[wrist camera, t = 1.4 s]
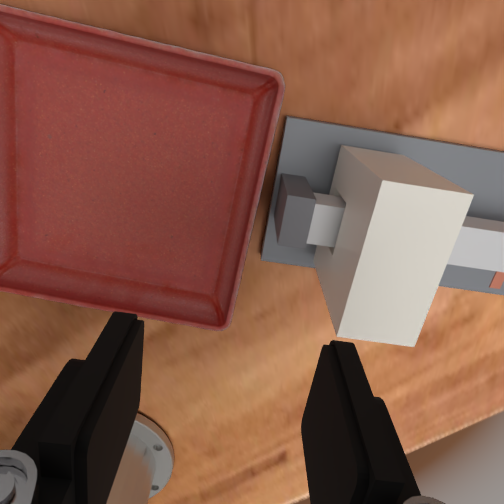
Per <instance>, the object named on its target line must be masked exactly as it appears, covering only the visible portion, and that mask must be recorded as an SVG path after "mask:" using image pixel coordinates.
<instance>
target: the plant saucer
mask: <svg viewBox="0 0 504 504" xmlns="http://www.w3.org/2000/svg"><path fill="white" fill-rule="evenodd" d="M284 91H285V83H284V78H283V76H282V74H281V73H280V72H278V71H276V70H273V69H270V68H266V67H261V66H256V65H252V64H248V63H244V62H240V61H236V60H232V59H227V58H223V57H219V56H215V55H210V54H206V53H202V52H197V51H193V50H189V49H185V48H182V47H178V46H173V45H169V44H163V43H159V42H156V41H151V40H147V39H144V38H139V37H135V36H130V35H126V34H122V33H118V32H115V31H111V30H107V29H102V28H98V27H94V26H89V25H84V24H81V23H77V22H72V21H67V20H64V19H60V18H56V17H53V16H47V15H43V14H39V13H35V12H31V11H27V10H23V9H19V8H14V7H11V6H7V5H4V4H0V291H3V292H8V293H13V294H19V295H23V296H28V297H35V298H40V299H45V300H50V301H56V302H61V303H66V304H72V305H77V306H81V307H87V308H94V309H99V310H104V311H110V312H115V311H118V312H125V313H133V314H137V317H143V318H147V319H154V320H159V321H164V322H170V323H174V324H181V325H186V326H192V327H197V328H202V329H208V330H214V331H223V330H225V329H226V328H228V327H229V326H230V324H231V320H232V316H233V312H234V307H235V302H236V298H237V294H238V290H239V285H240V281H241V277H242V272H243V268H244V263H245V259H246V255H247V250H248V246H249V242H250V237H251V233H252V229H253V225H254V220H255V216H256V212H257V207H258V204H259V199H260V194H261V190H262V186H263V182H264V177H265V173H266V168H267V164H268V161H269V156H270V152H271V146H272V143H273V140H274V135H275V130H276V126H277V122H278V119H279V115H280V109H281V105H282V101H283V97H284Z"/></svg>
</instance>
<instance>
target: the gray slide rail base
mask: <svg viewBox="0 0 504 504" xmlns="http://www.w3.org/2000/svg"><path fill="white" fill-rule="evenodd" d="M341 145H344V146H351V147H357V148H363V149H369V150H375V151H381V152H387V153H394V154H400V155H404V156H406V157H408V158H410V159H412V160H413V161H415V162H417V163H419V164H420V165H422V166H424V167H426V168H428V169H429V170H431V171H433V172H435V173H436V174H438V175H440V176H442V177H444V178H445V179H447V180H449V181H451V182H452V183H454V184H456V185H458V186H459V187H461V188H463V189H465V190H467V191H468V192H470V193H472V194H474V196H473V199H472V201H471V204H470V207H469V209H468V212H467V214H466V217H465V219H464V222H463V224H462V227H461V229H460V232H459V235H458V237H457V240H456V242H455V245H454V247H453V250H452V252H451V255H450V257H449V260H448V262H447V265H446V268H445V270H444V273H443V275H442V278H441V280H440V283H439V285H438V286H443V287H450V288H457V289H464V290H471V291H478V292H485V293H492V294H499V295H504V151H498V150H492V149H486V148H480V147H474V146H468V145H462V144H456V143H450V142H444V141H438V140H432V139H426V138H420V137H414V136H408V135H402V134H396V133H390V132H384V131H378V130H372V129H366V128H359V127H353V126H347V125H341V124H335V123H329V122H323V121H317V120H311V119H305V118H299V117H293V116H287V115H286V117H285V123H284V128H283V134H282V140H281V145H280V151H279V156H278V162H277V167H276V173H275V178H274V184H273V189H272V195H271V200H270V206H269V211H268V217H267V222H266V228H265V233H264V239H263V244H262V250H261V260H262V261H269V262H276V263H283V264H290V265H297V266H304V267H311V268H315V265H314V262H313V260H314V255H315V251H316V247H317V245H321V246H328V247H335V245H336V241H337V237H338V233H339V230H340V226H341V222H342V218H343V214H344V210H345V207H346V202H345V201H344V199H343V198H342V197H340V196H333V195H329V193H330V189H331V185H332V181H333V177H334V173H335V169H336V164H337V160H338V156H339V152H340V148H341Z"/></svg>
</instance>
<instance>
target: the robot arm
mask: <svg viewBox="0 0 504 504" xmlns="http://www.w3.org/2000/svg"><path fill="white" fill-rule="evenodd" d="M143 339H144V321H142V320H137V314H133V313H125V312H118V311H115V312H113V314H112V315H111V317H110V319H109V321H108V322H107V324H106V326H105V327H104V329H103V331H102V333H101V334H100V336H99V338H98V339H97V341H96V343H95V345H94V346H93V348H92V350H91V351H90V353H89V355H88V357H87V358H86V360H79V359H71V360H69V361H68V362H67V364H66V365H65V366H64V368H63V369H62V371H61V373H60V374H59V376H58V377H57V379H56V380H55V382H54V383H53V385H52V387H51V388H50V390H49V391H48V393H47V394H46V396H45V397H44V399H43V401H42V402H41V404H40V405H39V407H38V408H37V410H36V411H35V413H34V415H33V416H32V418H31V419H30V421H29V422H28V424H27V425H26V427H25V429H24V430H23V432H22V433H21V435H20V436H19V438H18V439H17V441H16V443H15V444H14V446H13V447H12V449H11V450H0V504H147V503H148V499H149V498H151V497H153V496H154V495H156V494H157V493H158V492H160V491H161V490H162V489H163V488H164V487H165V486H166V484H167V483H168V481H169V479H170V477H171V473H172V469H173V465H174V452H173V448H172V445H171V443H170V441H169V439H168V437H167V436H166V435H165V433H164V432H163V431H162V430H161V429H160V428H159V427H158V426H157V425H156V424H155V423H154V422H152V421H151V420H149V419H148V418H146V417H145V416H143V415H141V414H138V413H137V412H138V408H139V403H140V392H141V374H142V356H143ZM301 433H302V441H303V449H304V457H305V464H306V472H307V480H308V487H309V495H310V502H311V504H445V503H443V502H441V501H439V500H437V499H434V498H431V497H426V496H421V494H420V491H419V489H418V486H417V484H416V481H415V479H414V476H413V473H412V471H411V468H410V466H409V463H408V461H407V458H406V456H405V453H404V451H403V448H402V445H401V443H400V440H399V438H398V435H397V433H396V430H395V428H394V425H393V423H392V420H391V418H390V415H389V412H388V410H387V407H386V405H385V403H384V401H383V400H382V399H381V398H380V397H374V396H373V393H372V391H371V388H370V385H369V383H368V380H367V377H366V374H365V372H364V369H363V366H362V363H361V361H360V358H359V355H358V353H357V350H356V347H355V345H354V344H353V343H350V342H343V341H335V340H332V341H331V342H330V344H329V345H323V347H322V350H321V353H320V357H319V360H318V364H317V368H316V371H315V375H314V378H313V382H312V385H311V389H310V393H309V396H308V400H307V403H306V407H305V410H304V414H303V418H302V424H301Z"/></svg>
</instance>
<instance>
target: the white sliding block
mask: <svg viewBox="0 0 504 504" xmlns="http://www.w3.org/2000/svg"><path fill="white" fill-rule="evenodd" d="M329 195H333V196H340V197H342V198H343V199H344V201H345V202H346V207H345V210H344V214H343V218H342V222H341V226H340V230H339V233H338V237H337V241H336V245H335V247H328V246H321V245H317V247H316V251H315V255H314V260H313V262H314V265H315V268H316V271H317V275H318V278H319V281H320V284H321V288H322V291H323V294H324V297H325V300H326V304H327V307H328V310H329V313H330V317H331V320H332V323H333V326H334V329H335V333H336V336H337V337H343V338H351V339H358V340H366V341H373V342H381V343H388V344H396V345H403V346H410V347H414V346H415V344H416V341H417V339H418V336H419V334H420V331H421V329H422V326H423V323H424V321H425V318H426V316H427V313H428V311H429V308H430V306H431V303H432V301H433V298H434V295H435V293H436V290H437V288H438V285H439V283H440V280H441V278H442V275H443V273H444V270H445V268H446V265H447V262H448V260H449V257H450V255H451V252H452V250H453V247H454V245H455V242H456V240H457V237H458V235H459V232H460V229H461V227H462V224H463V222H464V219H465V217H466V214H467V212H468V209H469V207H470V204H471V201H472V199H473V196H474V194H472V193H470V192H468V191H467V190H465V189H463V188H461V187H459V186H458V185H456V184H454V183H452V182H451V181H449V180H447V179H445V178H444V177H442V176H440V175H438V174H436V173H435V172H433V171H431V170H429V169H428V168H426V167H424V166H422V165H420V164H419V163H417V162H415V161H413V160H412V159H410V158H408V157H406V156H404V155H400V154H394V153H387V152H381V151H375V150H369V149H363V148H357V147H351V146H344V145H341V148H340V152H339V156H338V160H337V164H336V169H335V173H334V177H333V181H332V185H331V189H330V193H329Z"/></svg>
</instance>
